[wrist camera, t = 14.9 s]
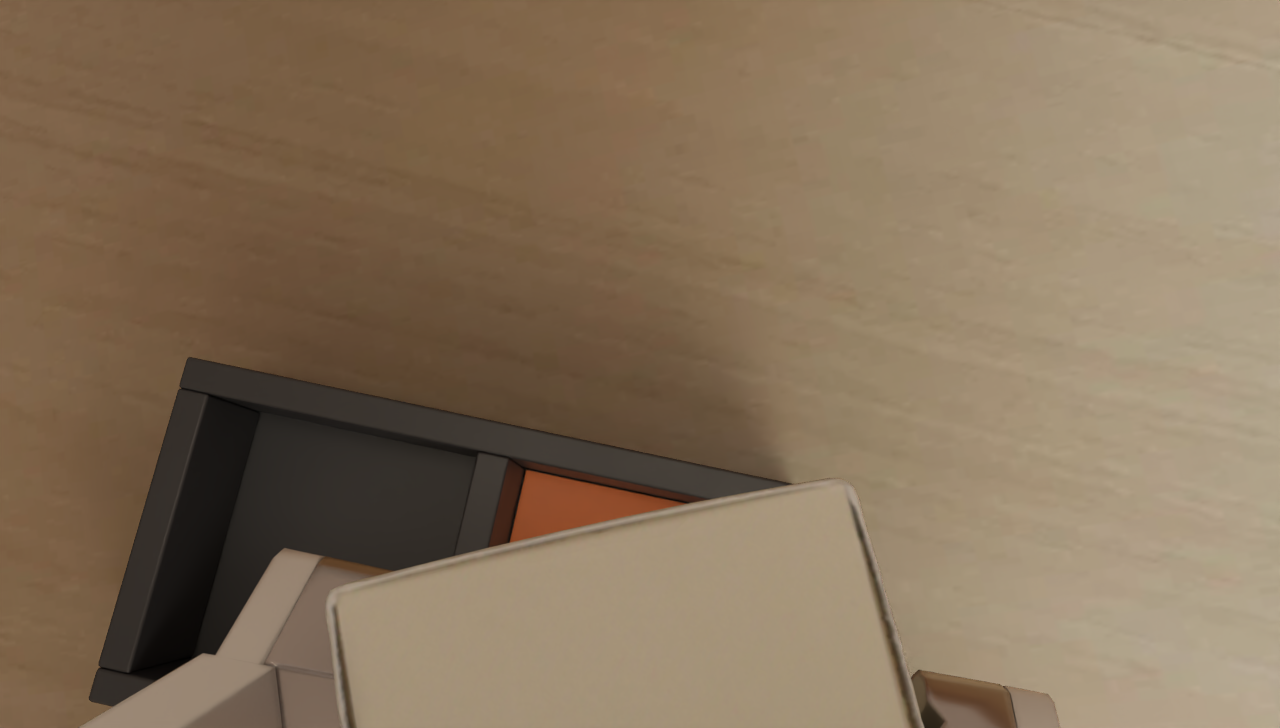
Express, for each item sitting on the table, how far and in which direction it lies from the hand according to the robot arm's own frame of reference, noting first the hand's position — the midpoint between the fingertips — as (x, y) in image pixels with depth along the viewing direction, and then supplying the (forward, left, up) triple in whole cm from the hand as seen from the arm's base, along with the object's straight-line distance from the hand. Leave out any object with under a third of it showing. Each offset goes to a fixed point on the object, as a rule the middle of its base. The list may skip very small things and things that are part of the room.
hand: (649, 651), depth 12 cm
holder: (-2, +4, -16) cm, 17 cm away
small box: (-1, 0, -5) cm, 5 cm away
